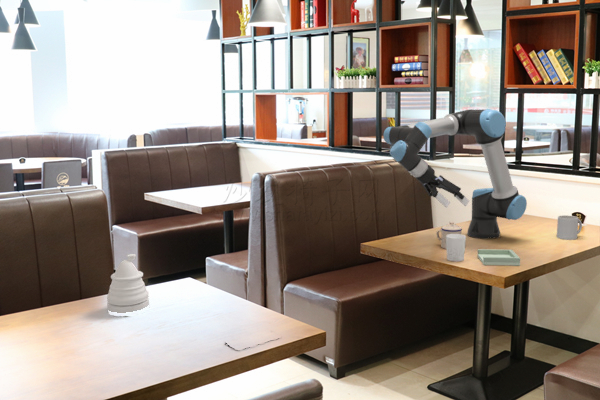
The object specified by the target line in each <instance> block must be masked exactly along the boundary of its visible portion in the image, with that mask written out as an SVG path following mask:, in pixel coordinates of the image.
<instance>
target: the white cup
mask: <svg viewBox="0 0 600 400" xmlns="http://www.w3.org/2000/svg"><path fill="white" fill-rule="evenodd" d="M466 236H467V235H465V234H462V233H461V234H448V235H446V249H445V250H446V259H447V261H450V262H458V263H459V262H463V261H464V260H465V253H466V252H465V251H466V250H465V249H466V241H467V240H466V239H467V237H466Z"/></svg>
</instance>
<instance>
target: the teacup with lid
mask: <svg viewBox="0 0 600 400" xmlns="http://www.w3.org/2000/svg"><path fill="white" fill-rule="evenodd" d="M462 230H463V228H462V227H461V226H460V225H457V224H455V222H454V221H449V223H447V224H445V225H442V226H441V228H440V229H438V230H437V231H436V233H435V234H436V238H437V239H438V240H439V241H440V244H441V245H440V246H441V248H443V249H445V250H447V249H446V235H448V234H461V235H462ZM439 232H440V233H441V237H440V233H439Z"/></svg>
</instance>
